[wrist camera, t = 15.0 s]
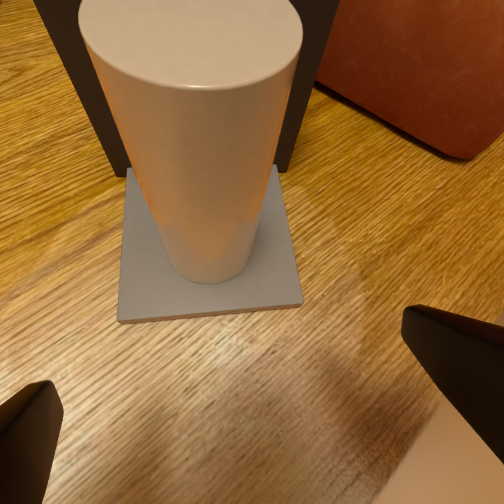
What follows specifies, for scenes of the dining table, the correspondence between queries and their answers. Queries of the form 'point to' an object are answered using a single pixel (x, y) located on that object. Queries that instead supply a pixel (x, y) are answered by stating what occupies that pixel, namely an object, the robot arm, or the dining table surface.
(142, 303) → the coffee maker
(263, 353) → the dining table surface
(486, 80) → the bread
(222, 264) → the beige cylinder
